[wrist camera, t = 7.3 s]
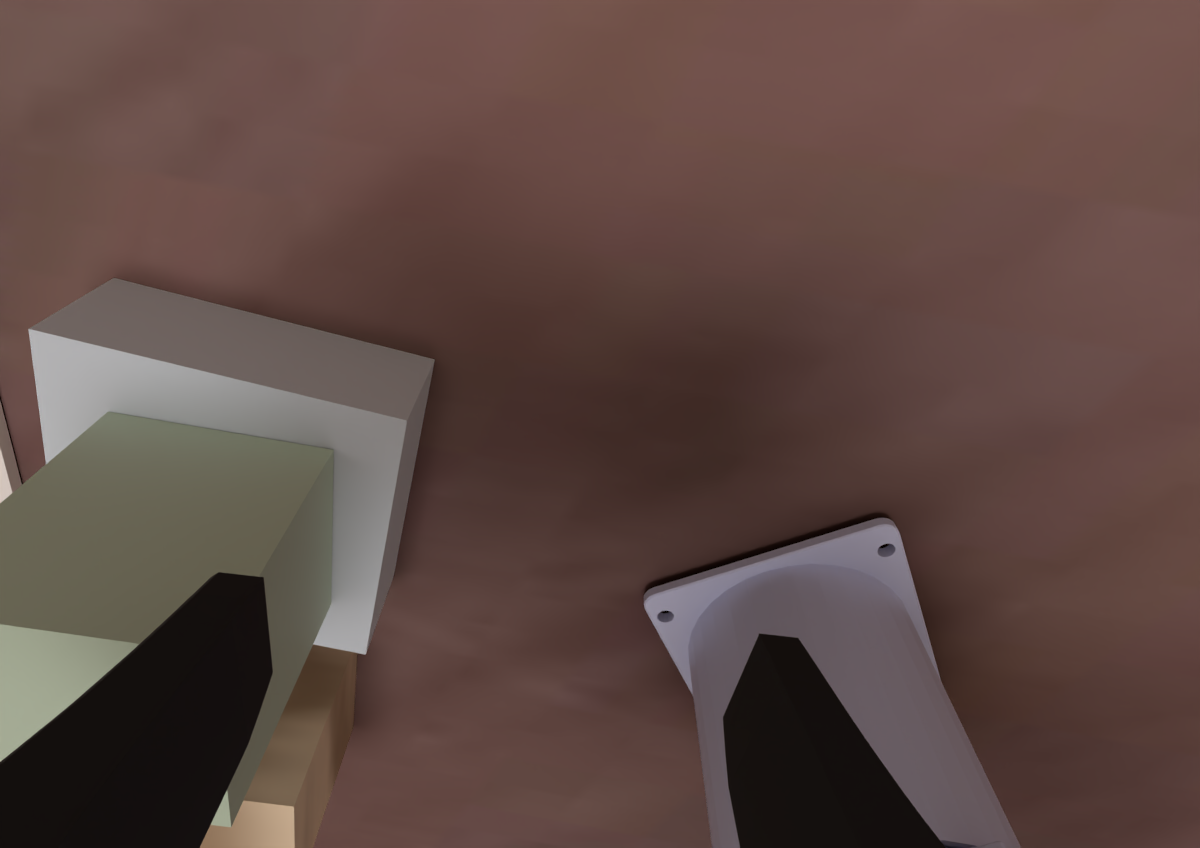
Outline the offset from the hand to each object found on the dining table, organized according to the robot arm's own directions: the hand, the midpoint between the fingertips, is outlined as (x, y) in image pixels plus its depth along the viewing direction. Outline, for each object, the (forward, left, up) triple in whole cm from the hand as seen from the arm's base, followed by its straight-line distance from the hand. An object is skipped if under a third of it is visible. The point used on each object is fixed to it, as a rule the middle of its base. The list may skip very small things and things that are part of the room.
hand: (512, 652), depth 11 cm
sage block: (+1, +8, -7) cm, 11 cm away
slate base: (+1, +8, -10) cm, 13 cm away
